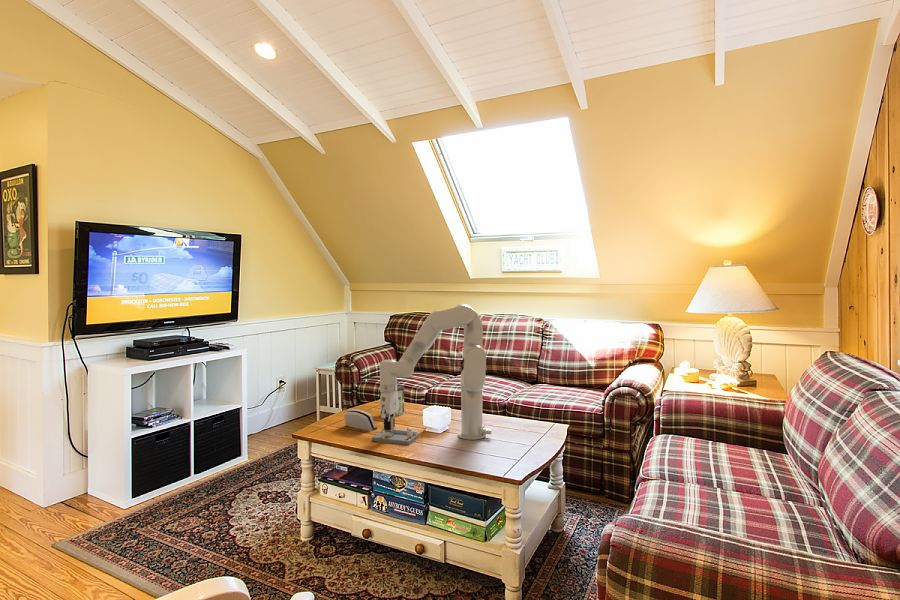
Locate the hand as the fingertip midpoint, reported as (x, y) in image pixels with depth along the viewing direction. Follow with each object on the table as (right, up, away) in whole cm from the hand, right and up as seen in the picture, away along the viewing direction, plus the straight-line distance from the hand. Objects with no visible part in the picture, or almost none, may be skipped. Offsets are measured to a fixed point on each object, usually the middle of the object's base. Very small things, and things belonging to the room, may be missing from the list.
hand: (389, 428), depth 222 cm
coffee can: (-2, -3, +41) cm, 42 cm away
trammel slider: (0, -3, -1) cm, 3 cm away
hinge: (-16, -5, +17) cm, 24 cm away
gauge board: (+3, -5, -1) cm, 6 cm away
